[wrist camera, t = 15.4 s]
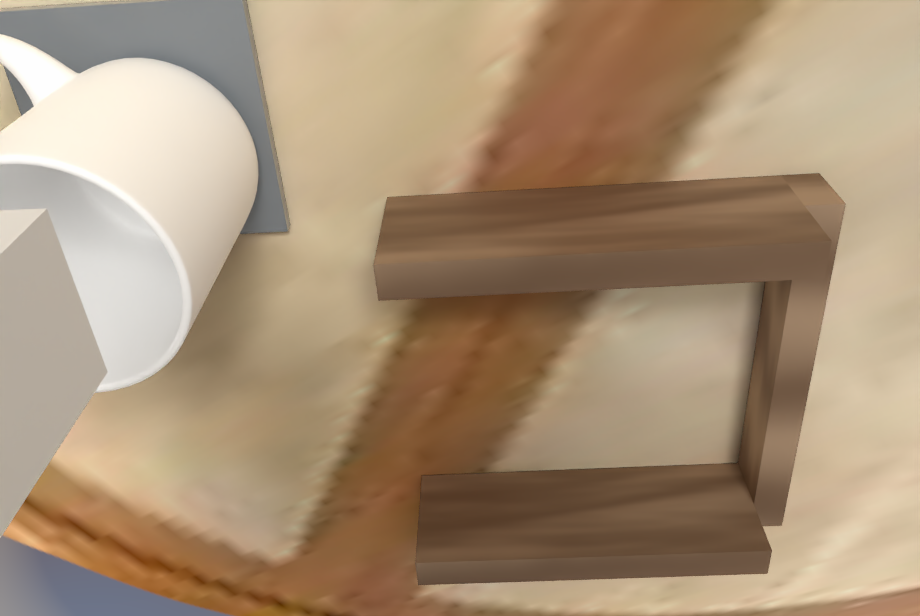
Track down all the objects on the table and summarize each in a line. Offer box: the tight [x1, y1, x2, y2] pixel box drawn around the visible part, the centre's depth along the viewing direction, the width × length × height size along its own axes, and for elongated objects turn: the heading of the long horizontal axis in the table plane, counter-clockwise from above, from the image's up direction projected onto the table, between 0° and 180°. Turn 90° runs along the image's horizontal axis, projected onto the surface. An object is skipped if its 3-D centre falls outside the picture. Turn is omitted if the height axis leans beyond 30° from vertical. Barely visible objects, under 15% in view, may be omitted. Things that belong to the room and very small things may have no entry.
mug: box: [0, 34, 258, 393], centre depth 30 cm, size 9×12×11 cm
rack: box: [374, 173, 845, 585], centre depth 39 cm, size 18×19×6 cm
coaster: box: [0, 0, 290, 234], centre depth 35 cm, size 10×10×1 cm
